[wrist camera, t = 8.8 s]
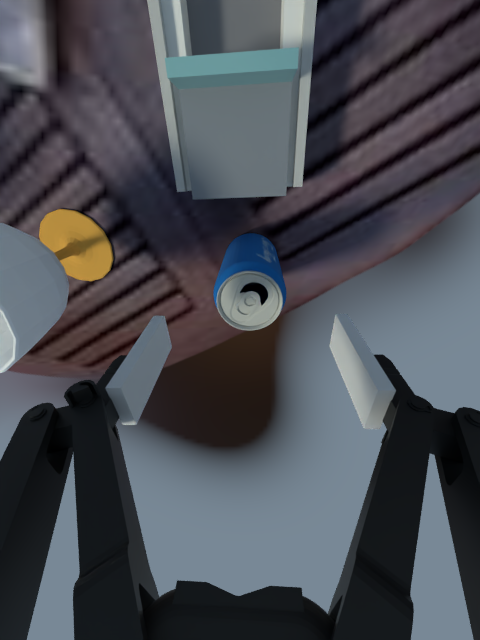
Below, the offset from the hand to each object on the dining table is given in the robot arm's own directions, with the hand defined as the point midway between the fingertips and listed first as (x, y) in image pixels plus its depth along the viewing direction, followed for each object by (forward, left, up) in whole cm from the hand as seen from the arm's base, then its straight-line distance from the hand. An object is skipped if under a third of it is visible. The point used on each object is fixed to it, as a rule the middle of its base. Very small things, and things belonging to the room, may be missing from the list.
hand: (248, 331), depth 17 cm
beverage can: (0, 0, -16) cm, 16 cm away
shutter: (-1, +12, -13) cm, 17 cm away
